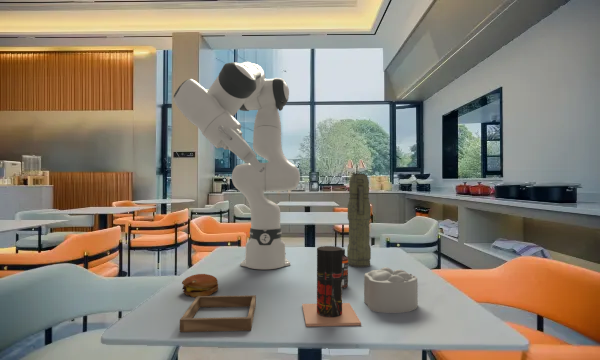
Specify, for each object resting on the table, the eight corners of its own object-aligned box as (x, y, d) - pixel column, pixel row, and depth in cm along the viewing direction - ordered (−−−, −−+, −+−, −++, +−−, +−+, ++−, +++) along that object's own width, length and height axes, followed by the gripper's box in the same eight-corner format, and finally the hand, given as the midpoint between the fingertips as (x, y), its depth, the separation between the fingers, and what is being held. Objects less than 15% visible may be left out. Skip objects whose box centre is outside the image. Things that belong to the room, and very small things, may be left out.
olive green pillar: (351, 268, 121) (351, 173, 122) (344, 261, 133) (344, 174, 134) (375, 268, 122) (375, 173, 123) (365, 260, 134) (365, 174, 135)
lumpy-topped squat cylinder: (361, 298, 89) (361, 266, 90) (408, 297, 90) (408, 265, 90) (372, 313, 79) (372, 276, 79) (425, 312, 80) (425, 276, 80)
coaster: (302, 306, 83) (302, 303, 83) (349, 305, 84) (349, 303, 84) (306, 326, 71) (306, 323, 71) (361, 325, 72) (361, 322, 72)
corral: (197, 306, 83) (197, 296, 83) (255, 305, 84) (255, 295, 84) (179, 332, 68) (179, 319, 68) (250, 330, 69) (251, 318, 69)
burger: (218, 286, 100) (218, 271, 100) (217, 296, 90) (217, 279, 91) (184, 288, 98) (184, 272, 98) (179, 299, 89) (179, 281, 89)
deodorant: (315, 308, 80) (315, 246, 81) (339, 307, 81) (339, 245, 81) (318, 317, 74) (319, 251, 75) (344, 317, 75) (344, 250, 75)
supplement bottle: (347, 290, 96) (347, 251, 97) (327, 288, 98) (327, 250, 98) (348, 284, 102) (348, 247, 102) (329, 282, 103) (329, 246, 104)
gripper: (227, 115, 75) (269, 158, 76) (238, 130, 96) (271, 164, 96) (207, 134, 75) (250, 177, 76) (222, 145, 95) (256, 179, 96)
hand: (262, 170), depth 86 cm, fingers open, 8 cm apart
